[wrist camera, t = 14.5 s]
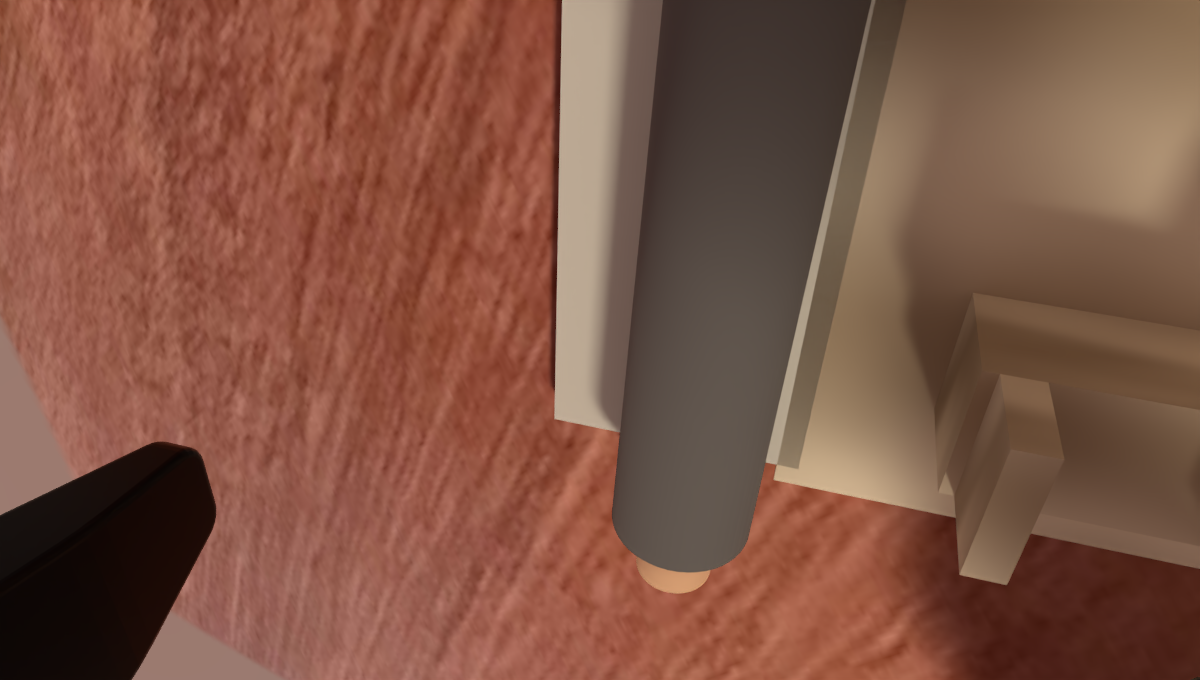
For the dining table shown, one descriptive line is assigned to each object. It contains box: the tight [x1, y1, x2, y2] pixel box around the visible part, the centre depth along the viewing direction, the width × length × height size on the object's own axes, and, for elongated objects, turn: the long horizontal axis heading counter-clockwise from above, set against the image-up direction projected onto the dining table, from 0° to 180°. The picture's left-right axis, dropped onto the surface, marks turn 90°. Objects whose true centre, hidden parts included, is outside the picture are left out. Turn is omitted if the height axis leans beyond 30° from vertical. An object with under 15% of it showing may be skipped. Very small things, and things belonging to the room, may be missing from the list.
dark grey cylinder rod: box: [612, 0, 871, 593], centre depth 17 cm, size 19×3×3 cm
